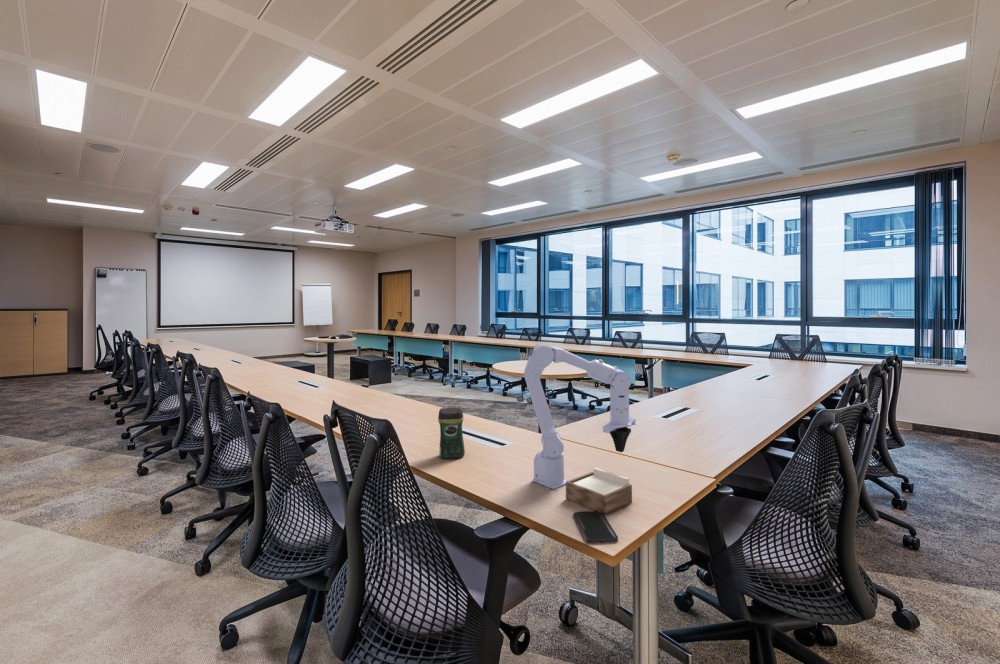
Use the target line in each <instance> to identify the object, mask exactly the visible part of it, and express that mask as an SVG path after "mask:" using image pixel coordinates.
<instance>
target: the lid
mask: <svg viewBox="0 0 1000 664" xmlns="http://www.w3.org/2000/svg"><path fill="white" fill-rule="evenodd" d="M593 472H594V475H592V476H590V477H587V478H584V479H582V480H579V481H577V482H574V484H576V485H579V486H582V487H585V488H587V489H590V490H593V491H595V492H598V493H601V494H603V495H606V494H608V493H611V492H613V491H615V490H617V489H620V488H622V487H624V486H626V485H628V484H630V478H628V477H626V476H624V475H621V474H617V473H613V472H611V471H608V470H607V471H606V470H604V469H601V468H598V467H594V468H593Z"/></svg>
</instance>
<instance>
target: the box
mask: <svg viewBox="0 0 1000 664" xmlns="http://www.w3.org/2000/svg"><path fill="white" fill-rule="evenodd" d="M592 475H594V471H590V472H588V473H585V474H582V475H580V476H577V477H576V478H572V479H570V480H569V481H567V482H566V484H565V500H567V501H570V502H571V503H572V502H573V503H575V504H578V505H580V506H582V507H585V508H587V509H590V510H591V511H601V512H602V513H603V514H604V516H608V515H609V514H611V513H613V512H615V511H617V510H619V509H621V508H623V507H625V506H627V505H629V504H631V503H633V492H632V491H633V484H630V483H629V484H628V485H626V486H624V487H622V488H620V489H617V490H615V491H613V492H611V493H608V494H606V495H603V494H601V493H598V492H595V491H593V490H590V489H587V488H585V487H582V486H579V485H576V484H574V482H577V481H579V480H582V479H584V478H587V477H590V476H592Z"/></svg>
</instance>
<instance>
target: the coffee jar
mask: <svg viewBox="0 0 1000 664" xmlns="http://www.w3.org/2000/svg"><path fill="white" fill-rule="evenodd" d="M437 416H438V418H437V421H438V423H439V428H440V429H439V437H440V438H439V458H441V459H443V460H444V459H446V460H448V459H449V460H451V459H461V458H462V457H463V458H464V456H465V454H466V453H465V451H466V450H465V449H466V448H465V443H464V442H465V441H464V435H463V434H464V433H463V422H464V412H463V409H462V407H460V406H459V407H443V408H440V409H439V411H438V415H437Z"/></svg>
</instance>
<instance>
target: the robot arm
mask: <svg viewBox="0 0 1000 664" xmlns="http://www.w3.org/2000/svg"><path fill="white" fill-rule="evenodd" d="M552 363H554V364H558V363H566V364H568V365H571V366H573V367H576V368H578V369H580V370H584V371H585V372H586V374H587V376H588V377H589V378H592V379H594V380H597V381H598V382H601V383H603V384H606V385H610V393H609V401H610V402H609V404H610V405H609V407H610V409H609V412H610V415H609V417H610V419H609V420H610V421H608V422H607V423H606V424H604V425H603V426H602V433H606V434H610V437H611V438H612V441H613V443H614V448H615V451H616V452H618V453H623V452H625V449H626V448H625V447H626V443H627V441H628V438H629V436H630V434H631V433H632V429H631V428H630V427H633V426H636V418H633V417H630V394H629V393H630V392H629V388H630V386H631V384H632V380H631V377H630V375H629V374H628V373H627V372H626V371H624V370H621V368H618V366H616V365H613V366H612V365H610V364H608V363H607V364H606V363H605V362H604V360H603V359H600V358H599V359H593V360H591V361H589V360H587V359H585V358H583V357H580V356H578V355H576V354H574V353H572V352H570V351H567V350H566V349H563V348H560V347H557V346H554V345H550V346H549V345H548V344H546V343H538V344H536V345H535V346H534V347H533V348H532V350H530V352H529V354H528V358H527V361H526V365H525V367H524V371H523V377H524V380H525V382H526V386H527V390H528V392H529V395H530V400H531V403H532V406H533V410H534V412H535V415H536V416H535V417H536V419H537V422H538V426H539V429H540V432H541V439H540V440H541V441H540V442H541V444H542V450H541V451H538V452H537V453H536V454H535V455H534V458H533V478H532V479H531V480H532V481H533V482H535V483H538V484H539V485H542V486H544V487H547V488H549V489H553V490H554V489H557V488H560V487H561V486H566V482H567V481H569V480H568V479H566V478H565V462H564V461H565V456H564V455H565V453H564V447H565V446H564V443H563V442H562V439H561V435H560V434H559V433H558V432H557V431H556V428H555V425H554V422H553V421H554V420H553V418H552V414H551V411H550V409H549V405H548V402H547V399H546V394H545V392H544V389H543V384H542V382H541V375H542V373H543V372H544V371H545V369H546V368H547V367H549V366H550V365H551V364H552Z"/></svg>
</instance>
